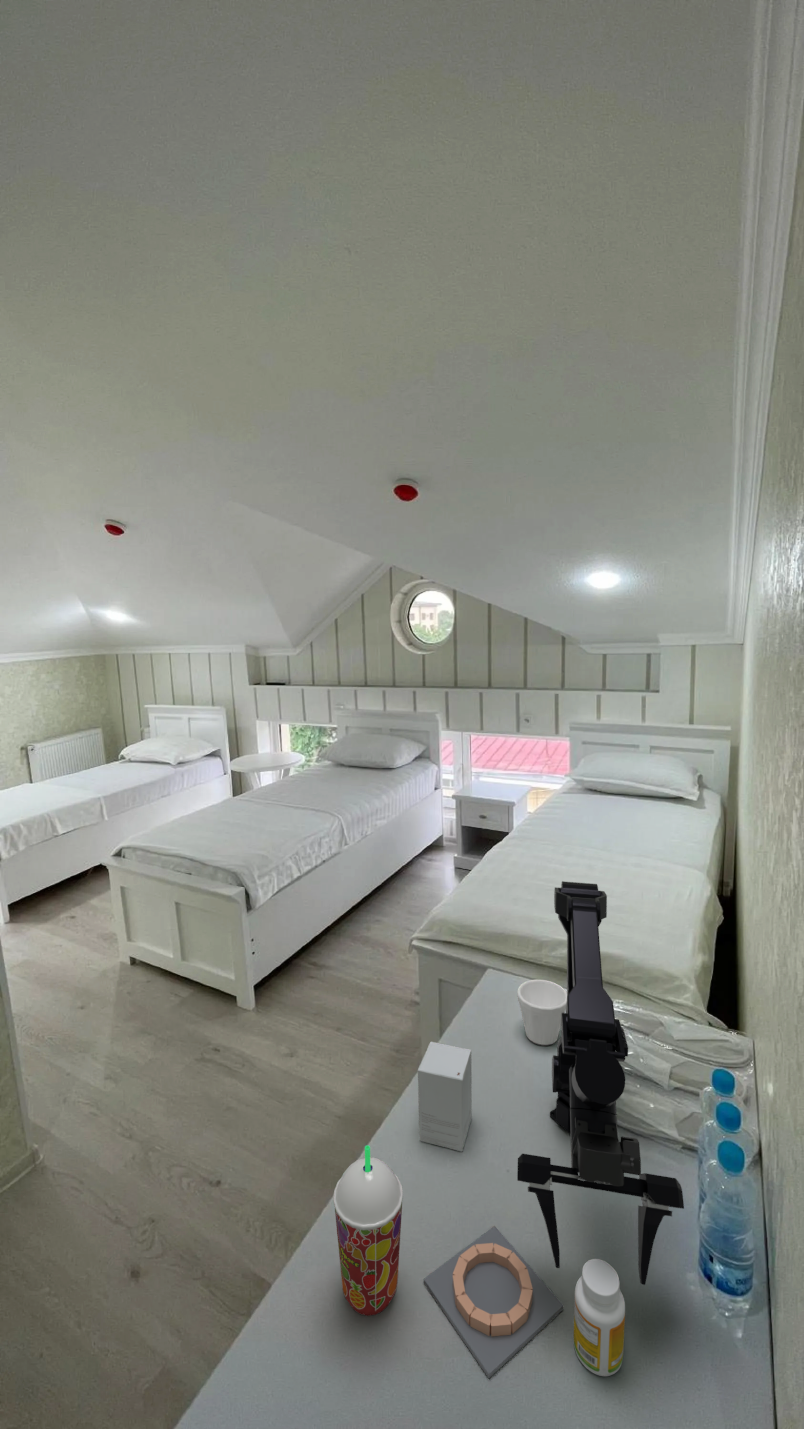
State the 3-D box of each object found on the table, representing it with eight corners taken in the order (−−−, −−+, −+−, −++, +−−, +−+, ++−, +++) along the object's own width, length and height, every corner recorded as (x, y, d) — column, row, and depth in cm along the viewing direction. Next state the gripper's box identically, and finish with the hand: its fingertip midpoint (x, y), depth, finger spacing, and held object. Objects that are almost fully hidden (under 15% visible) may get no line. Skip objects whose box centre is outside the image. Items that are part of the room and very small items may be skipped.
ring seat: (494, 1229, 83) (494, 1216, 83) (563, 1309, 73) (563, 1295, 73) (423, 1283, 77) (423, 1269, 76) (488, 1378, 67) (489, 1363, 66)
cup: (510, 1022, 127) (511, 980, 125) (556, 1018, 128) (558, 977, 127) (525, 1055, 117) (526, 1010, 116) (575, 1051, 118) (576, 1006, 117)
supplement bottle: (616, 1325, 72) (619, 1254, 70) (628, 1381, 66) (632, 1305, 65) (569, 1321, 72) (571, 1249, 71) (577, 1376, 67) (580, 1300, 66)
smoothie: (327, 1273, 78) (323, 1133, 75) (388, 1246, 81) (386, 1111, 78) (348, 1342, 70) (344, 1189, 67) (414, 1310, 74) (413, 1163, 71)
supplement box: (472, 1118, 102) (473, 1049, 100) (462, 1154, 95) (462, 1080, 94) (430, 1107, 105) (430, 1039, 103) (417, 1141, 98) (416, 1069, 96)
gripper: (519, 1094, 74) (515, 1266, 65) (684, 1118, 70) (706, 1304, 61) (518, 1104, 83) (515, 1257, 73) (666, 1126, 79) (682, 1290, 70)
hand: (599, 1276), depth 69 cm, fingers open, 9 cm apart
